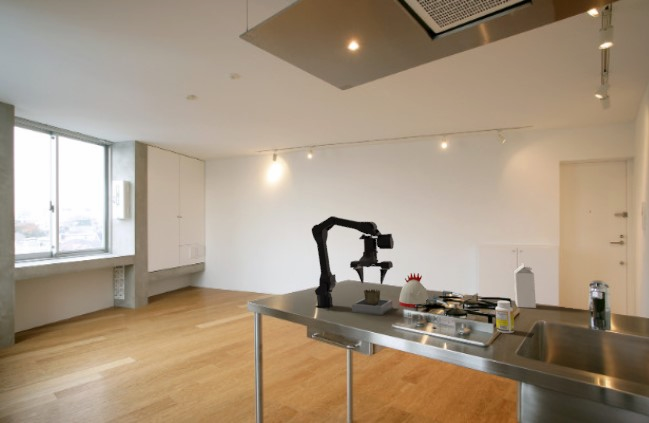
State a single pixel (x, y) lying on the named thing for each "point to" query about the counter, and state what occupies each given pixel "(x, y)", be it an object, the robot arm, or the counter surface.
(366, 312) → the tray
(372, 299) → the cup
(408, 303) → the kitchen timer
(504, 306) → the supplement bottle
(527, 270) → the milk carton
